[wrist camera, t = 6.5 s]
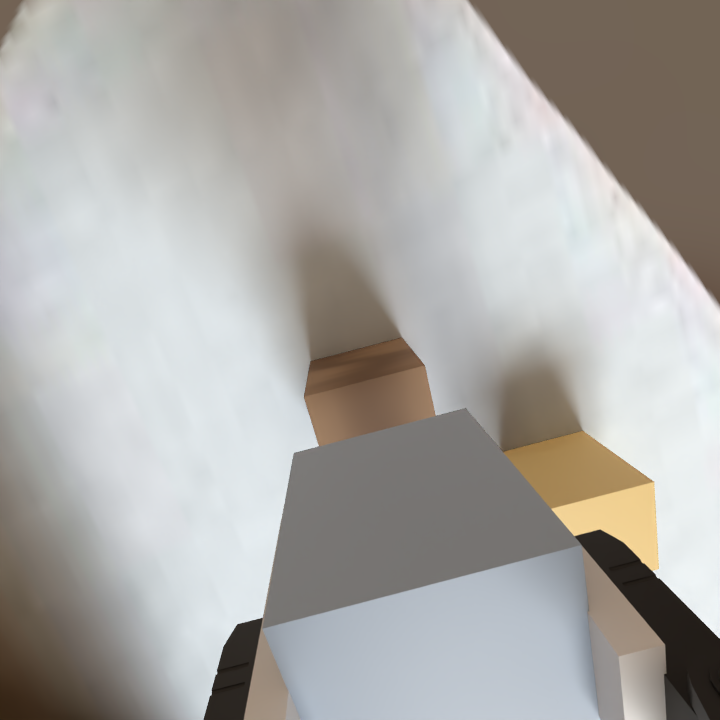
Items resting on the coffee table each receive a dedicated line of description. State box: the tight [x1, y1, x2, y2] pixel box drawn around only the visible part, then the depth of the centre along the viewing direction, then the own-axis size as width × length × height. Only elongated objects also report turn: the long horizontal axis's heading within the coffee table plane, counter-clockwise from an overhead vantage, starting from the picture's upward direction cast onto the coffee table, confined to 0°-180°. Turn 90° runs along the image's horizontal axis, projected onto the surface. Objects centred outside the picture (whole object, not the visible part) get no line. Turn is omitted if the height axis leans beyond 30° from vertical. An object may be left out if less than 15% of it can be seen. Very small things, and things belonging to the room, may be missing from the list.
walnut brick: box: [304, 338, 436, 446], centre depth 21 cm, size 6×6×6 cm
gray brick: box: [262, 408, 601, 720], centre depth 10 cm, size 6×6×6 cm
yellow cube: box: [503, 431, 659, 571], centre depth 24 cm, size 6×6×6 cm
